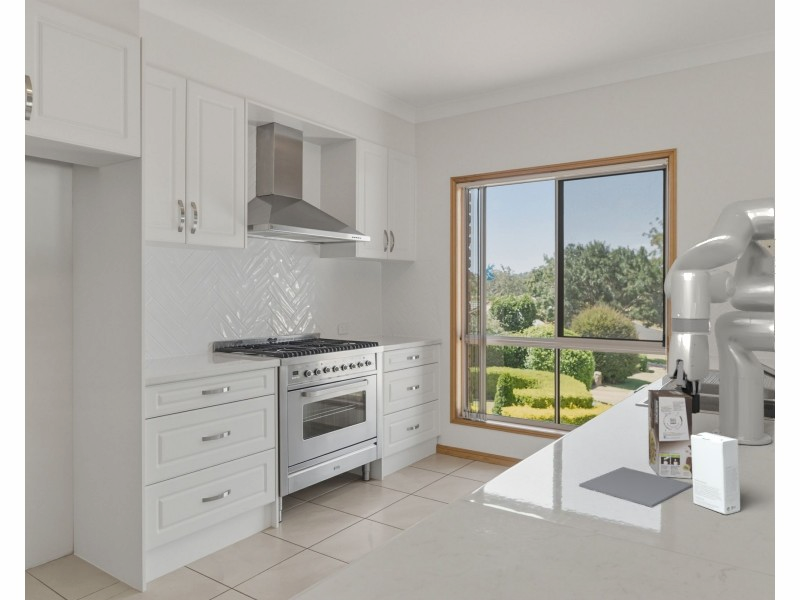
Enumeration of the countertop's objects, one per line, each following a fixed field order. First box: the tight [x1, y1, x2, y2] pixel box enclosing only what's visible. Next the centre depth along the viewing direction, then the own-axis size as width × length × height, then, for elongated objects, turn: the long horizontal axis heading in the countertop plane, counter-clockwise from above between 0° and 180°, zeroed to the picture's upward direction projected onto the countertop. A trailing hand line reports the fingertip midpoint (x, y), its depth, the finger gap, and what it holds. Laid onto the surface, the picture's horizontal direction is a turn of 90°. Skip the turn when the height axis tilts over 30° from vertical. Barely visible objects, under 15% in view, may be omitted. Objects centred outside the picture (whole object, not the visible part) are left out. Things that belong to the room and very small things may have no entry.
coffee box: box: [647, 389, 693, 480], centre depth 115 cm, size 9×6×16 cm
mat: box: [578, 466, 693, 508], centre depth 106 cm, size 16×14×1 cm
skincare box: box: [691, 432, 741, 515], centre depth 96 cm, size 6×4×12 cm
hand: (690, 412), depth 121 cm, fingers closed
